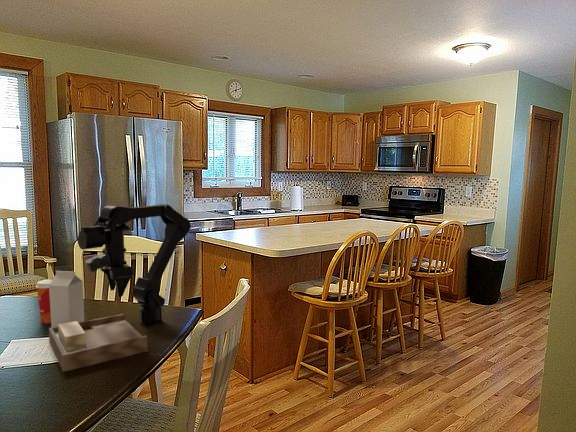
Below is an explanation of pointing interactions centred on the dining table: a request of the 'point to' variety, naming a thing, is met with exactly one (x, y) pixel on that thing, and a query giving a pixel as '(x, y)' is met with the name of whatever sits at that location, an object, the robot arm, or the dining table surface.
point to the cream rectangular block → (72, 335)
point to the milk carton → (66, 298)
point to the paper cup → (44, 300)
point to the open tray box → (99, 343)
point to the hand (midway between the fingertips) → (116, 293)
